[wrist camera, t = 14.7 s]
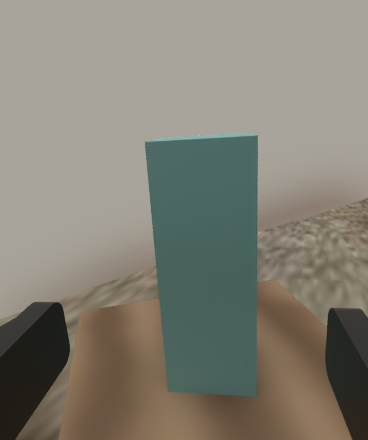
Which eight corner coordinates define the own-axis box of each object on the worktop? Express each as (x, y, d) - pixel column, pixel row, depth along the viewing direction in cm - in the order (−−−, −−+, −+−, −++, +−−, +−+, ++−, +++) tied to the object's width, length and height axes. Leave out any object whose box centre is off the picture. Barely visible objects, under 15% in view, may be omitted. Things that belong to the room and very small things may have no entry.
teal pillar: (250, 338, 22) (250, 132, 18) (256, 396, 18) (257, 135, 14) (180, 336, 23) (165, 137, 19) (167, 391, 18) (144, 141, 14)
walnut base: (273, 315, 32) (274, 279, 31) (460, 526, 15) (477, 462, 14) (87, 351, 28) (80, 311, 27) (51, 678, 11) (29, 608, 10)
